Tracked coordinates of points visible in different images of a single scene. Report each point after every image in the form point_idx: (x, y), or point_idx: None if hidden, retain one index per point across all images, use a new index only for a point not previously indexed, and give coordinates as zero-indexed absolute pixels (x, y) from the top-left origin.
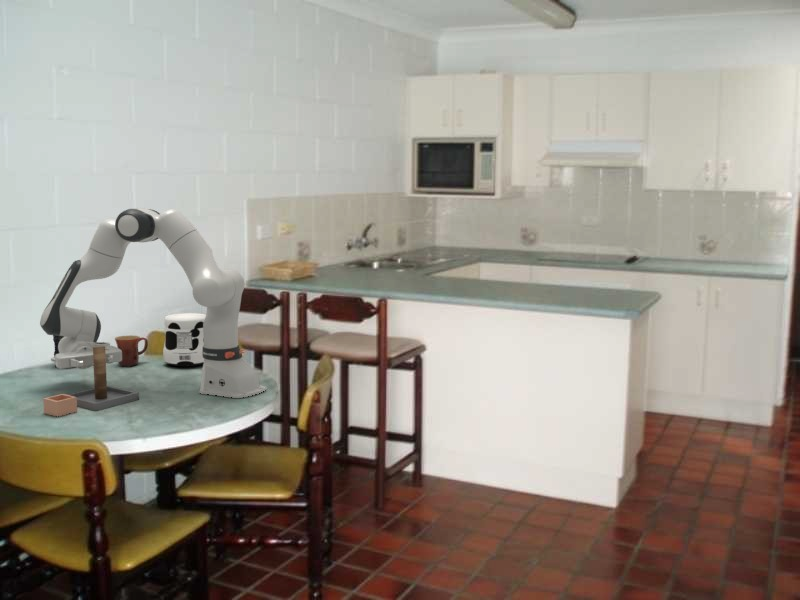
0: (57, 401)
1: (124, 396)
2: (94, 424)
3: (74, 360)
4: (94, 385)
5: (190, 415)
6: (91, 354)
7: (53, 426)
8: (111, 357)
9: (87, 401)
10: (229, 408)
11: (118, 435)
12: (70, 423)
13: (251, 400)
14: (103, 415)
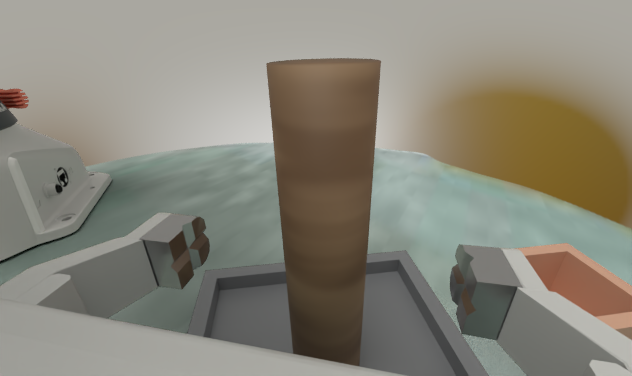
0: (565, 246)
1: (277, 264)
2: (434, 202)
3: (586, 312)
4: (361, 330)
5: (259, 167)
6: (248, 348)
7: (542, 231)
8: (158, 219)
9: (426, 286)
10: (188, 162)
11: (407, 161)
12: (493, 228)
13: (118, 168)
14: (395, 232)
